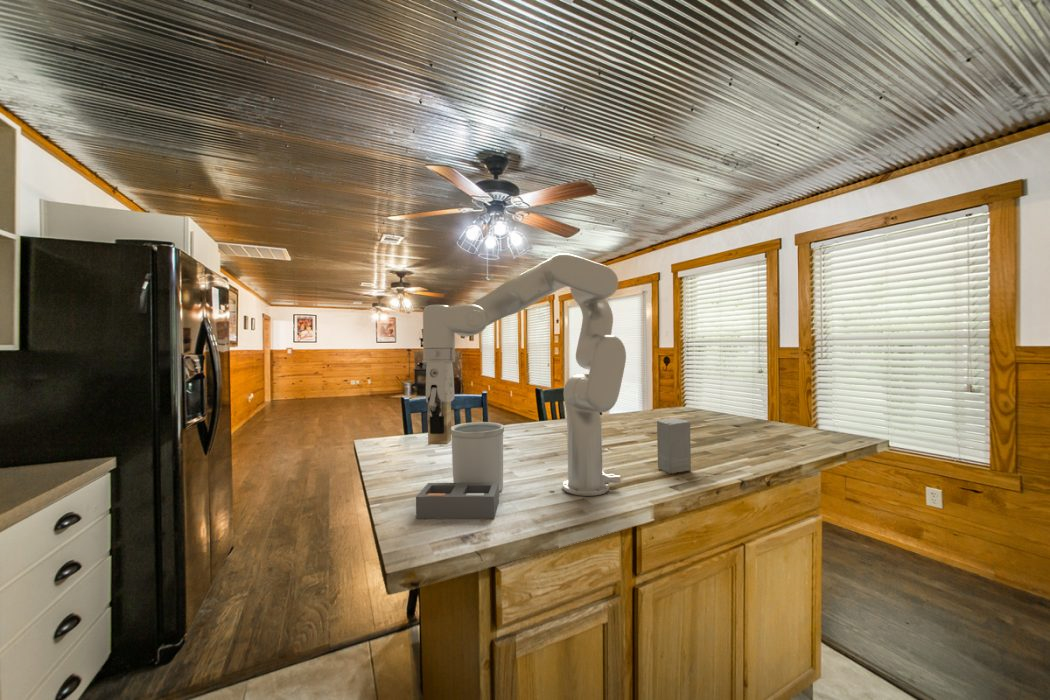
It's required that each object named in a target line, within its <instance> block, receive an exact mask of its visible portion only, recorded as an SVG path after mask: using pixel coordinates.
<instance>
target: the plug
mask: <svg viewBox="0 0 1050 700" xmlns="http://www.w3.org/2000/svg"><path fill="white" fill-rule="evenodd" d="M436 403H440V401H436ZM438 407H440V406H438ZM442 416H444V433H443V434H431V433H430V407H429V403H427V445H435V446H436V445H438V446H439V445H448V444H449V443H451V442H452V435H451V427H452V401H451V402H449V403H447V404H444V402H443V415H442Z"/></svg>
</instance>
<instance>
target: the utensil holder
mask: <svg viewBox="0 0 1050 700" xmlns="http://www.w3.org/2000/svg"><path fill="white" fill-rule="evenodd" d="M504 431H505V426H504V424H502V423H498V422H492V421H489V422H488V421H475V422H472V421H471V422H465V423H458V424H455V425H451V456H452V457H451V459H452V460H451V461H452V462H451V463H452V480H453V482H452V483H498V484H499V493H500V492H501V491H502V490H503V489H504Z"/></svg>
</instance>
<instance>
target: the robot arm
mask: <svg viewBox="0 0 1050 700" xmlns="http://www.w3.org/2000/svg"><path fill="white" fill-rule="evenodd" d="M566 287H568V288H570V294H571V296H572V298H573V300H574V301H575V302H576V303H577V305H578V306H579V308H580V311H581V314H582V320H581V321H582V323H581V328H580V334H579V337H578V341H577V347H576V351H575V359H576V363H577V364H578V365H579V366H580V368H582V369H584V370H589V373H579V374H574V375H572V376H570V377H569V378H568V379H567V381H566V382H565V384H564V386H563V387H564V388H563V401H564V407H565V413H566V415H565V416H566V432H567V433H566V437H567V438H566V441H567V443H566V444H567V480H564V481H563V482H562V484H561V485H562V490H564V492H567V493H568V494H570V495H571V494H572V495H575V496H584V497H586V496H587V497H589V496H590V497H593V496H599V495H604V494H605V493H607V492H608V491H609V488H610V486H609V485H610V483H611V484H620V483H621V475H615V474H614V473H609V474H608V473H607V474H606V473H605V472H604V469H603V434H602V433H603V425H602V418H601V414H600V413H606V412H609V411H610V410H612V408H613V407H614V406H615V404H616V403H617V401H618V399H619V395H620V391H621V387H622V383H623V377H624V372H625V368H626V362H627V361H626V360H627V351H626V347H625V345H624V343H623V341H622V340H621V339H620V338H619V337H617V336H616V335H613V334H612V333H613V332H612V330H613V325H614V315H613V311H612V308H611V306H610V303H609V302H608V301H607V299H608V298H610V297H612V296H613V295H614V294H616V291H617V290H618V287H619V278H618V275H617V274H616V272H615V271H614V270H613V269H612V268H611V267H609V266H607V265H605V264H602V263H600V262H596V261H593V260H590V259H587V258H585V257H581V256H578V255H575V254H572V253H564V252H562V253H557V254H555V255H553V256H552V257H550V258H548V259H545V261H543V262H541V263H539V264H537V265H535V266H533V267H532V268H530V269H528V270H526V271H524V272H522V273H520V274H518V275H516V276H514V277H512V278H510V279H509V280H507V281H505V282H503V283H501V284H500V285H499V286H498V287H497V288H495V289H493V290H492V291H491V292H488V293H487V294H486V295H484V296H482V297H480V298H479V299H477V300H475V301H473V302H471V303H469V304H461V305H448V304H447V305H446V304H430V305H426V306H425V307H424V308H423V311H422V343H423V345H422V346H423V347H422V352H423V354H422V355H423V359H422V361H423V363H426V367H425V369H426V370H425V401H426V403H427V404H428V403H429V407H430V433H431V434H443V433H444V416H442V415H443V402H444V404H447V403H449V402H451V403H452V402H453V401H454V400H455V398H456V397H455V379H454V366H453V363H455V362H456V340H455V338H456V335H458V336H460V337H471V336H472V337H473V336H476V335H479V334H480V333H482V332H483V331H485V329H486V328H487V326H489V325H492V324H494V323H495V322H497V321H499V320H502V319H503V318H505V317H508V316H512V315H515V314H517V313H519V312H522V311H523V310H526V309H527V308H529V307H531V306H532V305H534V304H536V303H538V302H539V301H541V300H543V299H545V298H546V297H549V296H550V295H552V294H555V292H557V291H559V290H561V289H563V288H566ZM436 401H440V403H436ZM438 406H440V407H438Z"/></svg>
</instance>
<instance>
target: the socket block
mask: <svg viewBox="0 0 1050 700" xmlns="http://www.w3.org/2000/svg"><path fill="white" fill-rule="evenodd" d="M499 493H500V492H499V484H498V483H454V482H428V483H427V484H426V485H425V486H424V487H423V488H422V490H420V492H419V493H418V494H417V495H416V496H415V519H416V520H418V519H419V520H423V519H424V520H429V519H431V520H433V519H434V520H438V519H439V520H442V519H443V520H447V519H448V520H450V519H452V520H453V519H454V520H460V519H461V520H462V519H464V520H469V519H470V520H471V519H472V520H473V519H476V520H478V519H479V520H480V519H481V520H482V519H484V520H488V519H490V520H493V519H495V518H496V514H497V510H498V507H499V502H500V500H499V499H500V498H499Z"/></svg>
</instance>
